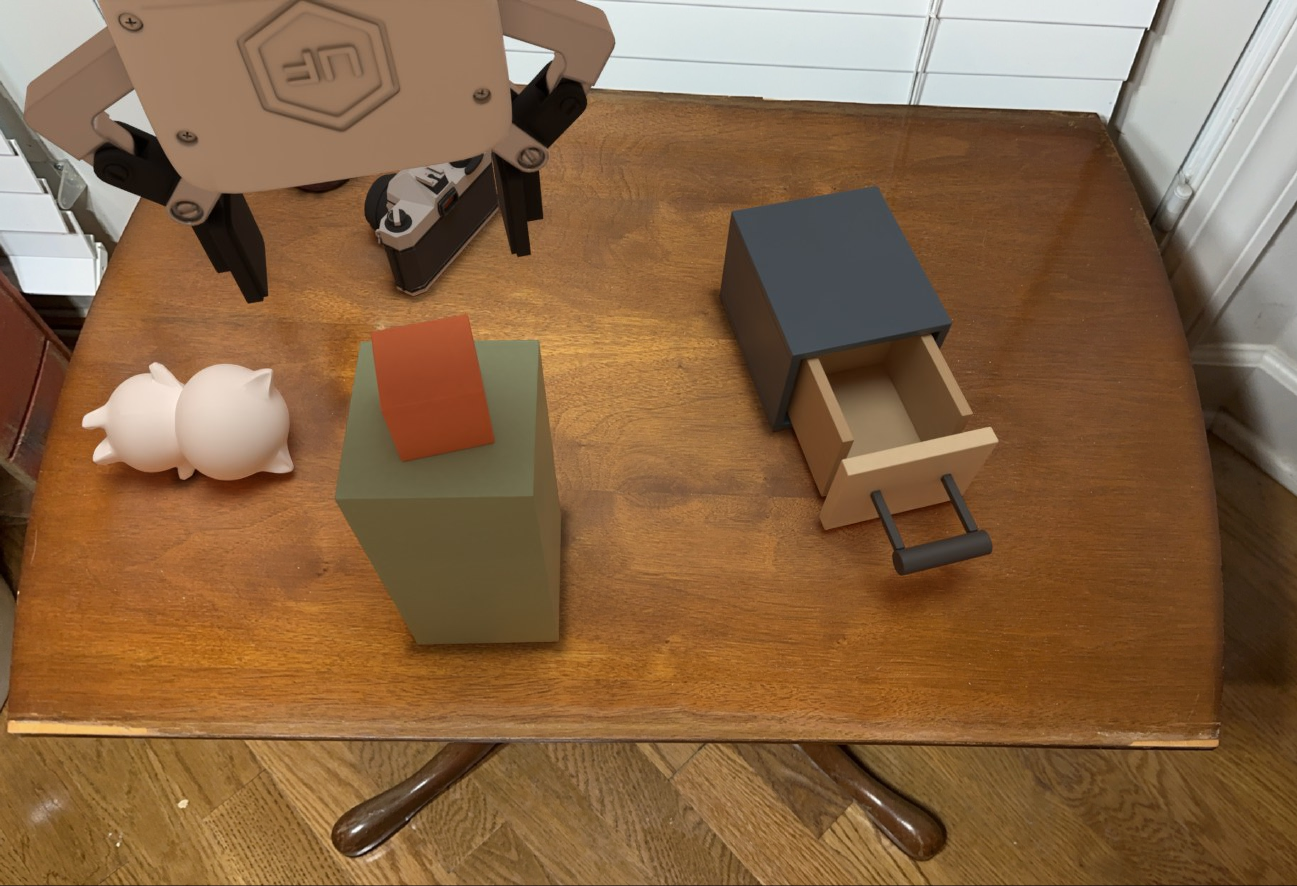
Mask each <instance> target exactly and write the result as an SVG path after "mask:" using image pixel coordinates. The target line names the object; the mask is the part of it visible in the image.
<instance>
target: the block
mask: <svg viewBox="0 0 1297 886" xmlns="http://www.w3.org/2000/svg"><path fill="white" fill-rule="evenodd" d="M370 341H371V342H372V349H373V356H374V364H375V371H376V378H377V386H378V393H379V400H380V408H381V412H382V414H383V417H384V419H385V422H386V424H387V427H388V429H389V432H390V434H391V436H392V439H393V441H394V444H395V446H396V449H397V451H398V454H399V456H400V459H401V461H402V462H404V461H409V460H414V459H419V458H424V457H428V456H433V455H438V454H443V453H448V452H453V451H457V450H462V449H467V448H472V447H477V446H482V445H486V444H491V443H495V438H494V433H493V428H492V423H491V419H490V414H489V409H488V404H487V399H486V394H485V390H484V385H483V380H482V375H481V370H480V366H479V361H478V357H477V353H476V348H475V344H474V335H473V331H472V325H471V321H470V317H469V315H468V314H467V313H464V314H459V315H454V316H449V317H442V318H438V319H432V320H427V321H421V322H416V323H411V324H410V323H409V324H406V325H399V326H394V327H389V328H383V329H378V330H377V329H376V330H373V331H371V332H370Z"/></svg>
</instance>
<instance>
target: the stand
mask: <svg viewBox="0 0 1297 886" xmlns="http://www.w3.org/2000/svg"><path fill="white" fill-rule="evenodd" d="M474 344H475V348H476V353H477V357H478V361H479V366H480V370H481V375H482V380H483V385H484V390H485V394H486V399H487V404H488V409H489V414H490V419H491V423H492V428H493V433H494V438H495V443H491V444H486V445H482V446H477V447H472V448H467V449H462V450H457V451H453V452H448V453H443V454H438V455H433V456H428V457H424V458H419V459H414V460H409V461H404V462H402V461H401V459H400V456H399V454H398V451H397V449H396V446H395V444H394V441H393V439H392V436H391V434H390V432H389V429H388V427H387V424H386V422H385V419H384V417H383V414H382V412H381V408H380V400H379V393H378V386H377V378H376V371H375V364H374V356H373V349H372V342H371V340H363V341H362V340H361V341H360V342H359V347H358V353H357V359H356V366H355V370H354V378H353V382H352V391H351V395H350V402H349V408H348V414H347V420H346V425H345V432H344V438H343V445H342V451H341V455H340V456H341V457H340V463H339V468H338V475H337V480H336V485H335V486H336V487H335V492H334V502H335V503H336V504H337V506H338V508H339V510H340V512H341V513H342V516H343V517H344V518H345V521H346V522H347V524H348V526H349V527H350V529H351V531H352V533H353V534H354V536H355V537H356V539H357V542H358V543H359V544H360V547H361V548H362V550H363V551H364V553H365V555H366V557H367V559H368V561H369V562H370V564H371V566H372V568H373V570H374V571H375V572H376V574H377V576H378V578H379V580H380V581H381V583H382V585H383V586H384V588H385V590H386V592H387V594H388V595H389V597H390V599H391V601H392V602H393V604H394V606H395V608H396V609H397V611H398V613H399V614H400V616H401V618H402V620H403V621H404V623H405V625H406V627H407V629H408V630H409V632H410V634H411V635H412V637H413V640H414V641H415V642H416V644H417V645H418V646H419V645H421V646H422V645H460V644H461V645H464V644H465V645H466V644H508V643H510V644H511V643H513V644H514V643H515V644H516V643H517V644H518V643H555V642H556V643H557V642H559V641H560V639H559V638H560V597H561V596H560V593H561V592H560V590H561V589H560V587H561V547H562V545H561V544H562V543H561V540H562V539H561V538H562V514H561V506H560V504H561V503H560V497H559V489H558V481H557V480H558V479H557V473H556V465H555V464H556V463H555V457H554V449H553V442H552V435H551V434H552V433H551V432H552V431H551V426H550V425H551V424H550V416H549V407H548V401H547V393H546V385H545V376H544V367H543V360H542V352H541V344H540V339H478V340H477V339H476V340H474Z"/></svg>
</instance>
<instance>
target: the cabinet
mask: <svg viewBox="0 0 1297 886" xmlns="http://www.w3.org/2000/svg"><path fill="white" fill-rule="evenodd" d="M730 212H731V213H730V218H729V226H728V232H727V240H726V246H725V254H724V261H723V268H722V275H721V282H720V291H719V299H720V301H721V304H722V306H723V308H724V312H725V313H726V316H727V318H728V322H729V324H730V326H731V329H732V332H733V334H734V337H735V339H736V342H737V344H738V347H739V350H740V351H741V354H742V357H743V359H744V362H745V364H746V367H747V369H748V372H749V375H750V377H751V380H752V382H753V385H754V388H755V390H756V393H757V395H758V398H759V400H760V403H761V406H762V408H763V410H764V413H765V416H766V418H767V421H768V423H769V426H770V428H771V431H772V432H777V431H781V430H786V429H791V428H793V425H792V423H791V421H790V418H789V416H788V413H787V407H788V404H789V400H790V397H791V393H792V390H793V386H794V382H795V379H796V375H797V372H798V368H799V365H800V361H801V359H805V358H810V357H815V356H820V355H825V354H830V353H835V352H840V351H845V350H849V349H854V348H859V347H864V346H869V345H874V344H879V343H884V342H889V341H894V340H899V339H903V338H908V337H913V336H918V335H923V334H928V333H931V335H932V337H933V339H934V340H935V342H936V344H937V346H938V348H939V350H940V351H941V348H942V346H943V344H944V342H945V340H946V338H947V336H948V334H949V332H950V329H951V327H952V325H953V321H952V319H951V317H950V316H949V314H948V312H947V311H946V308H945V306H944V305H943V303H942V301H941V299H940V298H939V296H938V294H937V292H936V290H935V288H934V286H933V285H932V283H931V281H930V279H929V278H928V276H927V274H926V272H925V270H924V268H923V266H922V265H921V263H920V261H919V259H918V257H917V256H916V254H915V252H914V250H913V248H912V246H911V244H910V243H909V241H908V239H907V238H906V235H905V234H904V232H903V230H902V228H901V227H900V225H899V223H898V221H897V219H896V218H895V215H894V214H893V212H892V210H891V208H890V206H889V205H888V203H887V201H886V199H885V197H884V195H883V194H882V192H881V190H880V188H879V186H878V185H872V186H866V187H861V188H855V189H850V190H845V191H839V192H832V193H827V194H820V195H815V196H810V197H809V196H808V197H804V198H799V199H798V198H797V199H793V200H786V201H781V202H777V203H770V204H764V205H758V206H751V207H748V208H747V207H746V208H741V209H735V210H731V211H730Z"/></svg>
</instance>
